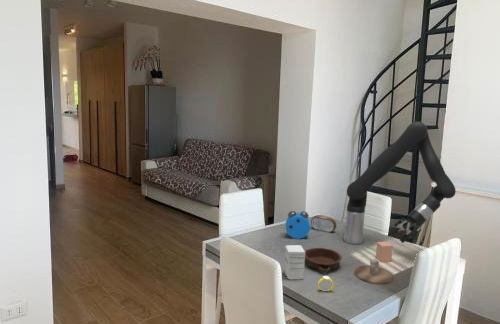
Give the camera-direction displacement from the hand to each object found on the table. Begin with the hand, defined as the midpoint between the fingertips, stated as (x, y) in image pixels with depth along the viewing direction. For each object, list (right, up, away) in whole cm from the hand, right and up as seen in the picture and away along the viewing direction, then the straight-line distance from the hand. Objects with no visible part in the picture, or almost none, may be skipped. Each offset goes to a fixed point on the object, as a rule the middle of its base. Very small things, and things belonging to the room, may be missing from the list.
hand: (396, 238), depth 182 cm
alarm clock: (-44, -5, +28) cm, 52 cm away
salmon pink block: (-6, -10, +1) cm, 12 cm away
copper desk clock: (-28, -4, +40) cm, 49 cm away
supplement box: (-51, -13, -18) cm, 56 cm away
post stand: (-16, -13, -16) cm, 26 cm away
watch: (-40, -15, -31) cm, 53 cm away
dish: (-37, -11, -6) cm, 39 cm away
